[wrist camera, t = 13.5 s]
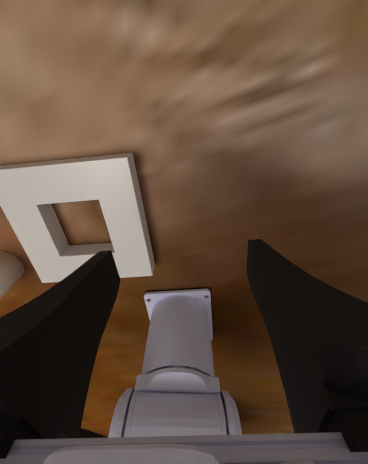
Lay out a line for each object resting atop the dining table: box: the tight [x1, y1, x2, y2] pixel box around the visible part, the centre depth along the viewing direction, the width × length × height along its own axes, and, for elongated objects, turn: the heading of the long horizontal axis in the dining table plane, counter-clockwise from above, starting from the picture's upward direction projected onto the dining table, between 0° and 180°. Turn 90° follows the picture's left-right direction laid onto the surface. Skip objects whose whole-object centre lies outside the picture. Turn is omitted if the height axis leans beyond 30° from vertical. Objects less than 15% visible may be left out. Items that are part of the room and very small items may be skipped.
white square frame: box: [0, 153, 155, 283], centre depth 22 cm, size 12×12×2 cm
